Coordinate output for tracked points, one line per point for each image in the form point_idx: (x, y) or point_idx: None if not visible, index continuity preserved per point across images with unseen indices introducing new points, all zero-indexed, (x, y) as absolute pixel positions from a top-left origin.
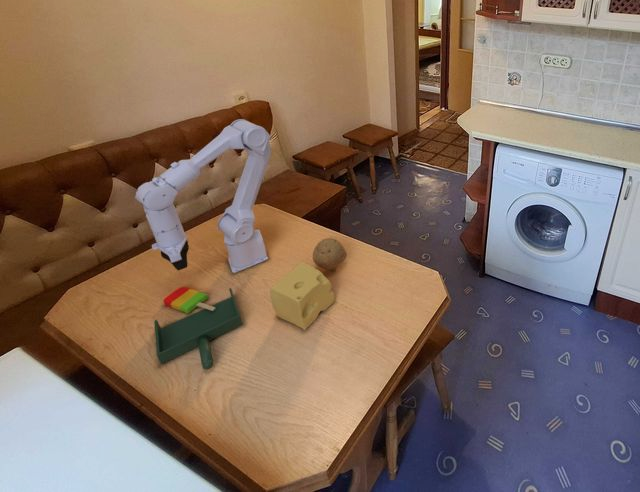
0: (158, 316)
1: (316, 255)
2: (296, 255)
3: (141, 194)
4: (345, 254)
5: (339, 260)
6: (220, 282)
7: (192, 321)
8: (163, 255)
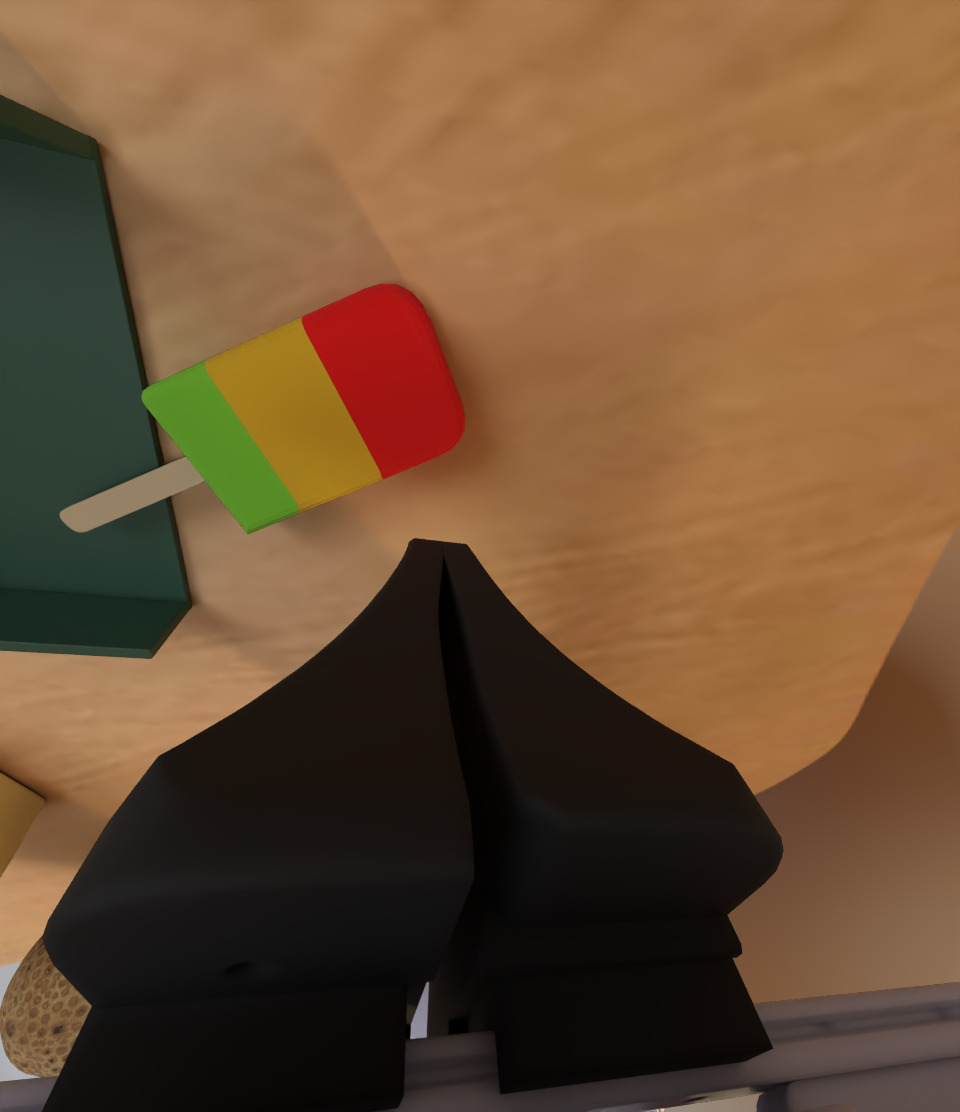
0: (296, 198)
1: (38, 994)
2: None
3: None
4: None
5: None
6: (378, 590)
7: (53, 382)
8: (50, 926)
